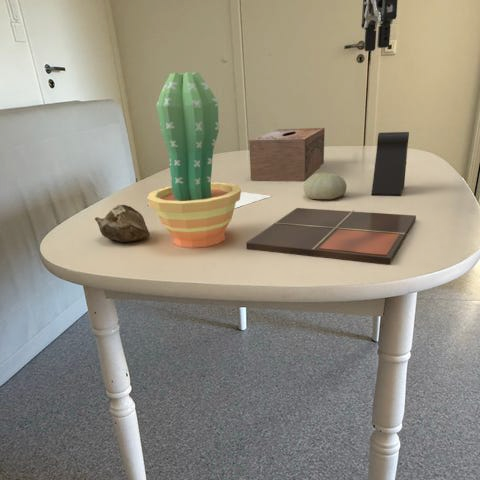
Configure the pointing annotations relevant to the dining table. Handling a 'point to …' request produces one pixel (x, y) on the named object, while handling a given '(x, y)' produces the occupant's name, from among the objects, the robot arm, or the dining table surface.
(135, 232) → the fossilized seashell
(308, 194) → the sea urchin shell
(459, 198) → the dining table surface
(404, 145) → the phone stand
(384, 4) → the robot arm
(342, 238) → the board
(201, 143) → the potted cactus
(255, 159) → the tissue box cover
